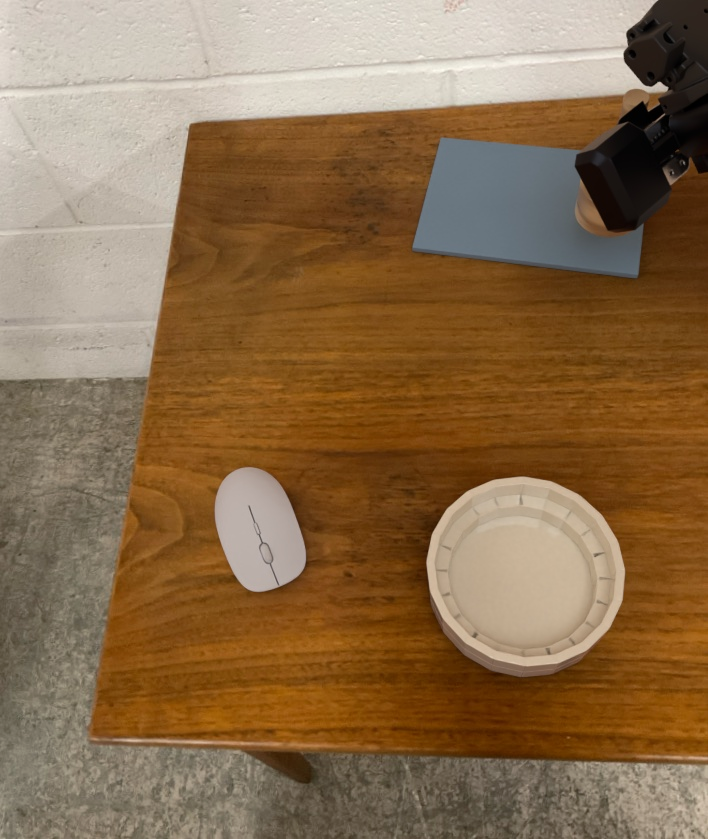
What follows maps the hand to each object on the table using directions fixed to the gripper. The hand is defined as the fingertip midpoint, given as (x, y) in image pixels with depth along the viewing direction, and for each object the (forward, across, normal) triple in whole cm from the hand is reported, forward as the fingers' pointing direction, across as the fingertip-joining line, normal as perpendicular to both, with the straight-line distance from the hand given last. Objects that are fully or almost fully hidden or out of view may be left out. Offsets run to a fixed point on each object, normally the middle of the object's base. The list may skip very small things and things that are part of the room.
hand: (609, 145), depth 63 cm
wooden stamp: (+4, 0, +6) cm, 7 cm away
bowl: (-5, +28, +20) cm, 35 cm away
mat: (+12, +1, +3) cm, 12 cm away
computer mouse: (+7, +40, +9) cm, 41 cm away
